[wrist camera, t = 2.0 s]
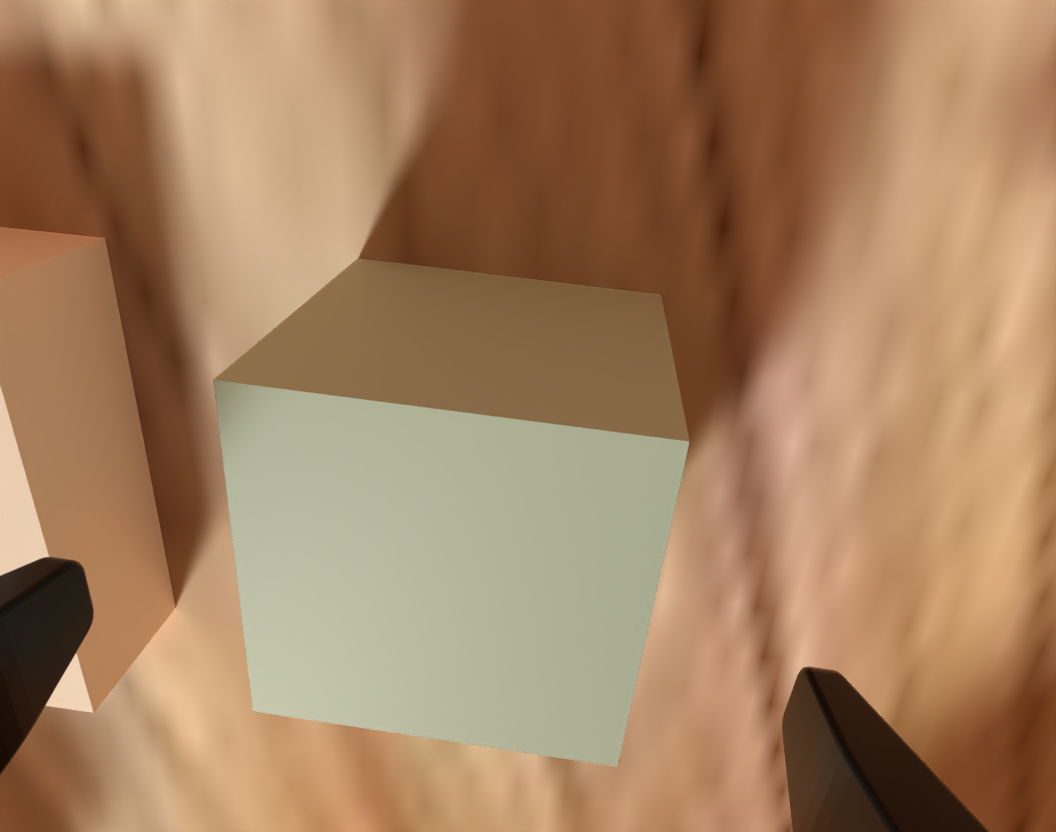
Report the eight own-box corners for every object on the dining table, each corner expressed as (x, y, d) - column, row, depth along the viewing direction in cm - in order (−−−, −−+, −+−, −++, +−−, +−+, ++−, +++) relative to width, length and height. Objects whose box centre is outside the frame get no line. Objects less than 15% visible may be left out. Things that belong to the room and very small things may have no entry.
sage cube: (661, 292, 13) (689, 441, 8) (616, 540, 16) (617, 766, 11) (359, 257, 13) (213, 379, 8) (363, 506, 16) (253, 711, 11)
